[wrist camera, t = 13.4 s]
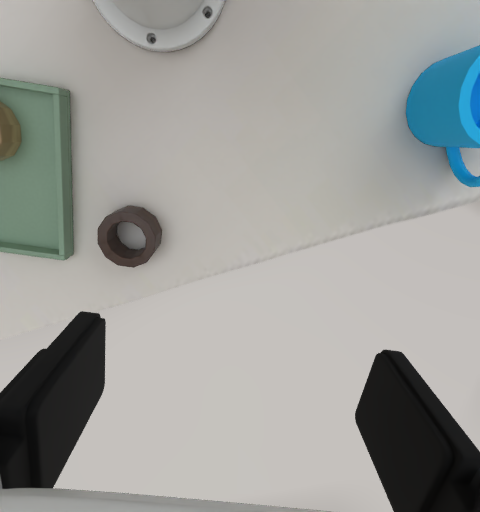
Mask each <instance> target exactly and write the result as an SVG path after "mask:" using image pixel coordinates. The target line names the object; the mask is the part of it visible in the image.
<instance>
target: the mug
mask: <svg viewBox="0 0 480 512" xmlns="http://www.w3.org/2000/svg"><path fill="white" fill-rule="evenodd" d="M406 116H407V121H408V126H409V128H410V129H411V131H412V133H413V134H414V136H415V137H416V138H417V139H419V140H420V141H421V142H423V143H424V144H428V145H432V146H437V147H446V152H447V156H448V160H449V164H450V167H451V169H452V171H453V173H454V175H455V176H456V177H457V179H458V180H459V181H460V182H461V183H463V184H465V185H467V186H469V187H479V186H480V176H479V177H475V176H473V175H472V174H471V173H470V172H469V171H468V170H467V169H466V167H465V165H464V163H463V161H462V157H461V153H460V149H459V147H463V148H480V45H479V46H477V47H474V48H471V49H469V50H466V51H464V52H461V53H458V54H456V55H453V56H451V57H448V58H445V59H443V60H441V61H439V62H436V63H434V64H432V65H431V66H430V67H429V68H427V69H426V70H425V71H424V72H423V73H421V75H420V76H419V78H418V79H417V80H416V82H415V83H414V85H413V86H412V89H411V91H410V94H409V97H408V99H407V108H406Z"/></svg>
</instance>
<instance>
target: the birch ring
mask: <svg viewBox="0 0 480 512" xmlns="http://www.w3.org/2000/svg"><path fill="white" fill-rule="evenodd" d="M21 142H22V141H21V128H20V124H19V122H18V120H17V118H16V117H15V115H14V113H13V112H12V110H11V109H10V108H9V107H8V106H6V105H5V104H4V103H2V102H1V101H0V161H3V160H5V159H7V158H9V157H12V156H14V155H15V153H16V151H17V150H18V148H19V146H20V144H21Z"/></svg>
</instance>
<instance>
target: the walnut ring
mask: <svg viewBox="0 0 480 512" xmlns="http://www.w3.org/2000/svg"><path fill="white" fill-rule="evenodd" d="M121 221H125V222H132V223H134V224H136V225H137V226H138V227H140V228H141V229H142V231H143V233H144V235H145V237H146V247H145V248H142V249H140V250H136V249H129V248H128V247H127V246H125V245H124V244H122V243H121V241H120V240H119V238H118V236H117V225H118V223H119V222H121ZM161 235H162V229H161V227H160V225H159V223H158V221H157V219H156V217H155V216H154V215H152V214H151V213H150V212H148V211H147V210H146V209H144V208H141V207H135V206H127V207H124V208H122V209H119V210H117V211H115V212H113V213H111V214H110V215H108V216H106V217H105V219H104V220H103V222H102V223H101V225H100V226H99V228H98V245H99V246H100V248H101V250H102V252H103V254H104V255H105V257H106V258H108V259H109V260H111V261H112V262H114V263H115V264H117V265H120V266H127V267H136V266H138V265H141V264H144V263H146V262H147V261H148V260H149V259H150V257H151V256H152V255H153V253H154V252H155V251H156V249H157V248H158V246H159V245H160V244H161Z"/></svg>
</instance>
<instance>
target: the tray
mask: <svg viewBox="0 0 480 512" xmlns="http://www.w3.org/2000/svg"><path fill="white" fill-rule="evenodd" d="M0 101H1V102H2V103H4V104H5V105H6V106H8V107H9V108H10V109H11V110H12V112H13V113H14V115H15V117H16V118H17V120H18V122H19V124H20V128H21V141H22V142H21V144H20V146H19V148H18V150H17V151H16V153H15V155H14V156H12V157H9V158H7V159H5V160H3V161H0V252H6V253H13V254H21V255H28V256H35V257H43V258H50V259H57V260H66V259H67V258H69V257H70V256H72V255H73V213H72V170H71V127H70V91H68V90H65V89H61V88H57V87H51V86H46V85H40V84H34V83H28V82H22V81H16V80H10V79H4V78H0Z"/></svg>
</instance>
